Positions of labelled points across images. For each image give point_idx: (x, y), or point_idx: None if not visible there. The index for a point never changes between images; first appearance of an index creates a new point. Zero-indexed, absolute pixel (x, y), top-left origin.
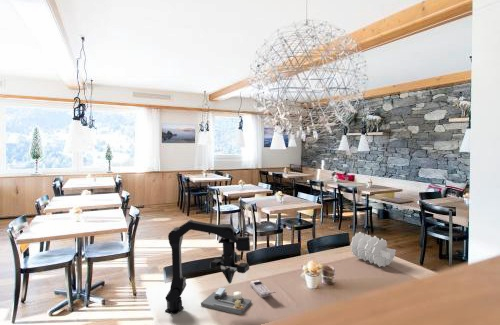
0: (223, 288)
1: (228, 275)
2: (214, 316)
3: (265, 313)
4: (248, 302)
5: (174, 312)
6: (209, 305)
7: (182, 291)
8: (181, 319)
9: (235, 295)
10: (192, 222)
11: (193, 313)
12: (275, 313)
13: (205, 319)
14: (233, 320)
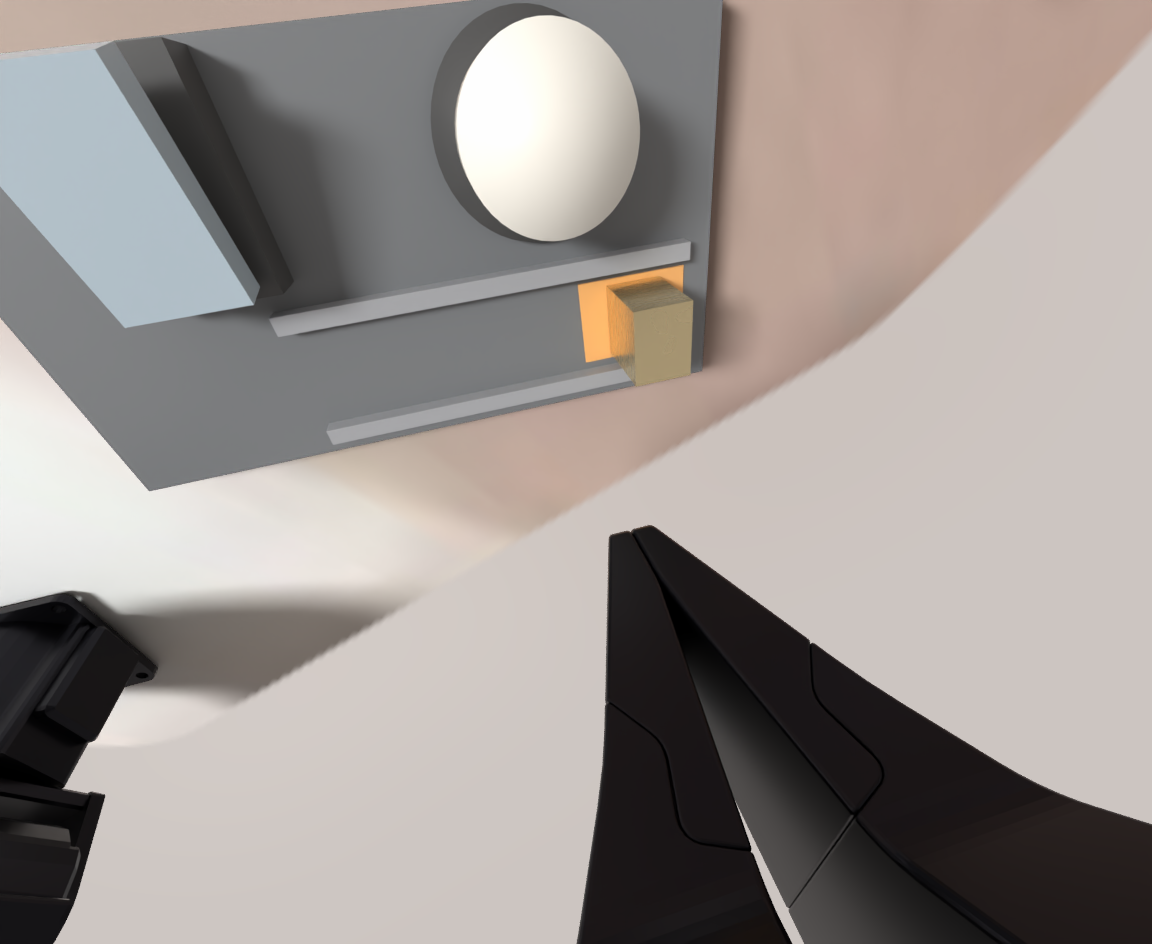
0: (62, 86)
1: (780, 878)
2: (479, 505)
3: (926, 176)
4: (710, 102)
5: (135, 679)
6: (289, 455)
7: (29, 873)
8: (287, 662)
9: (557, 238)
10: None
11: (272, 580)
12: (1038, 108)
13: (448, 567)
14: (664, 454)
